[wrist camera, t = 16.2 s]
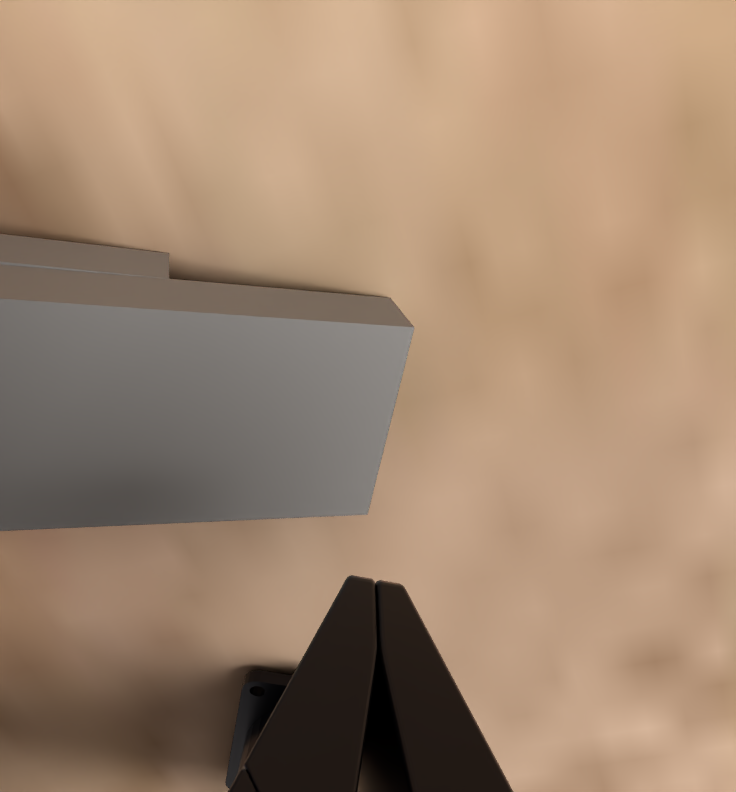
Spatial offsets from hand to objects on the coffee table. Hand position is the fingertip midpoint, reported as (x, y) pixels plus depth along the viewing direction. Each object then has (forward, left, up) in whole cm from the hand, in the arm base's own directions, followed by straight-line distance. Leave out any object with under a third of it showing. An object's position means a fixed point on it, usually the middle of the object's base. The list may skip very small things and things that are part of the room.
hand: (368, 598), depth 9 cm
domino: (0, 0, -6) cm, 6 cm away
